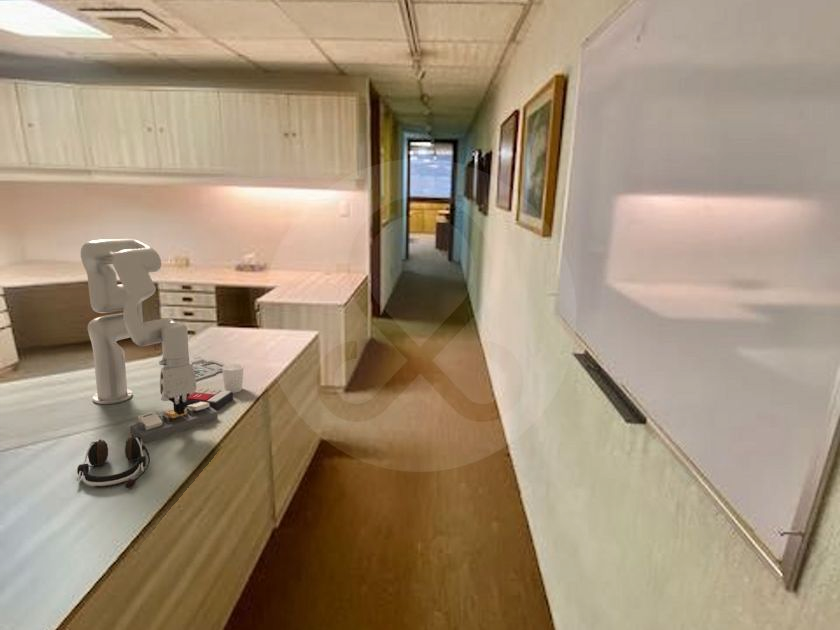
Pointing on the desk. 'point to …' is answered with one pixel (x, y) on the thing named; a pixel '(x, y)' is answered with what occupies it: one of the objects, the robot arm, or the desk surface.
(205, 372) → the office telephone
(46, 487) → the desk surface
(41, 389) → the desk surface
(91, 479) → the headset
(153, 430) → the rocker switch panel
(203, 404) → the rocker
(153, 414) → the rocker
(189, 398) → the calculator
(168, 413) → the rocker middle
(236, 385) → the white cup
